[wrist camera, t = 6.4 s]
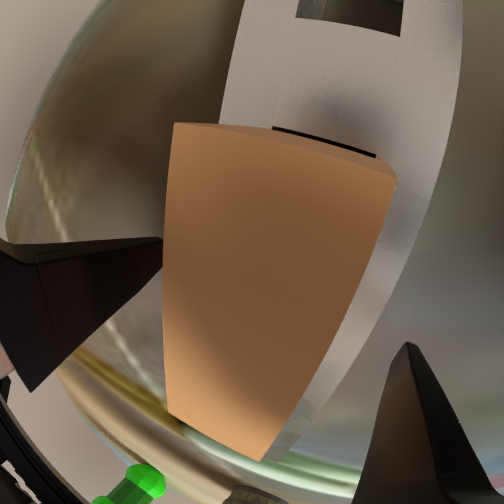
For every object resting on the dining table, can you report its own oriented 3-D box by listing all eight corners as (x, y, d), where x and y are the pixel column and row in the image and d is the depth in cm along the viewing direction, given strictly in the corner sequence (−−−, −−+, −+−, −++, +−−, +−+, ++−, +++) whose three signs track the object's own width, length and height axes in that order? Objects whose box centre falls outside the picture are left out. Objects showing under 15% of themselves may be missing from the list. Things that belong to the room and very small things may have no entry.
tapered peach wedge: (286, 130, 10) (174, 122, 5) (387, 160, 9) (397, 178, 4) (243, 326, 15) (168, 411, 9) (312, 357, 14) (258, 462, 8)
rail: (448, -5, 5) (459, -39, 2) (293, 431, 17) (277, 462, 15) (291, -35, 7) (264, -68, 5) (210, 391, 20) (189, 417, 17)
